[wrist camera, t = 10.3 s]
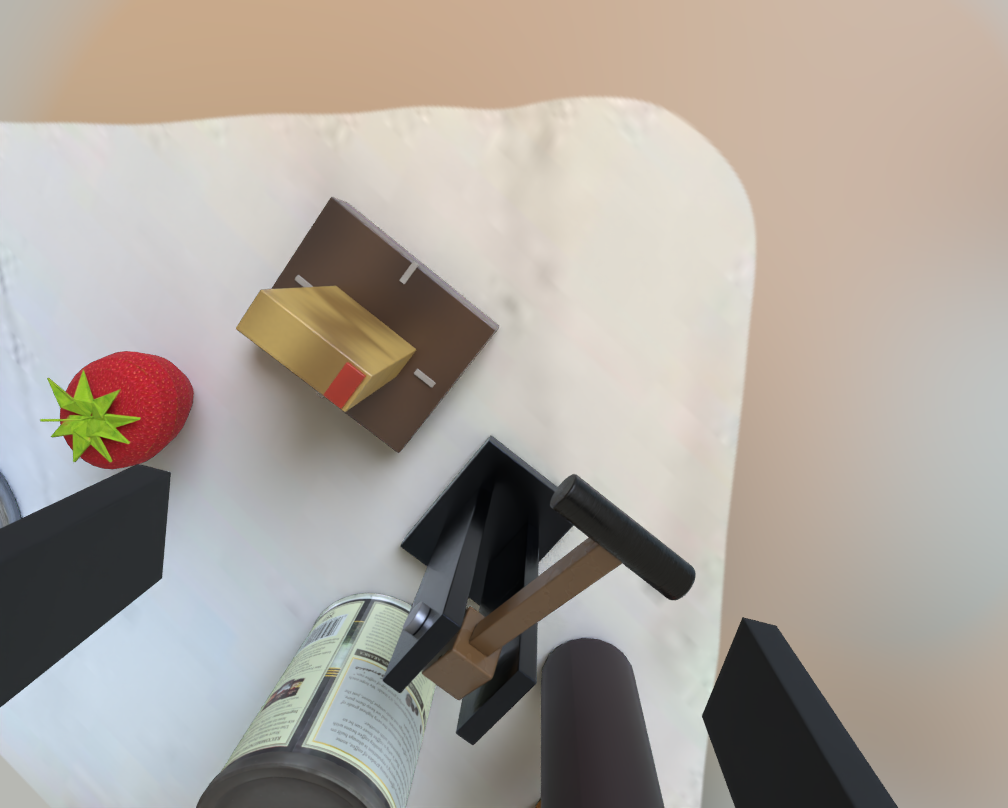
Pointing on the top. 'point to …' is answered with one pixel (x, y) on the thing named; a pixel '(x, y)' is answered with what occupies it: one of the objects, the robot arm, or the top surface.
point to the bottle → (594, 731)
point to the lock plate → (392, 315)
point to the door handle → (559, 585)
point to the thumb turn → (326, 341)
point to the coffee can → (333, 720)
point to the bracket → (479, 574)
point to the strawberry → (123, 409)
